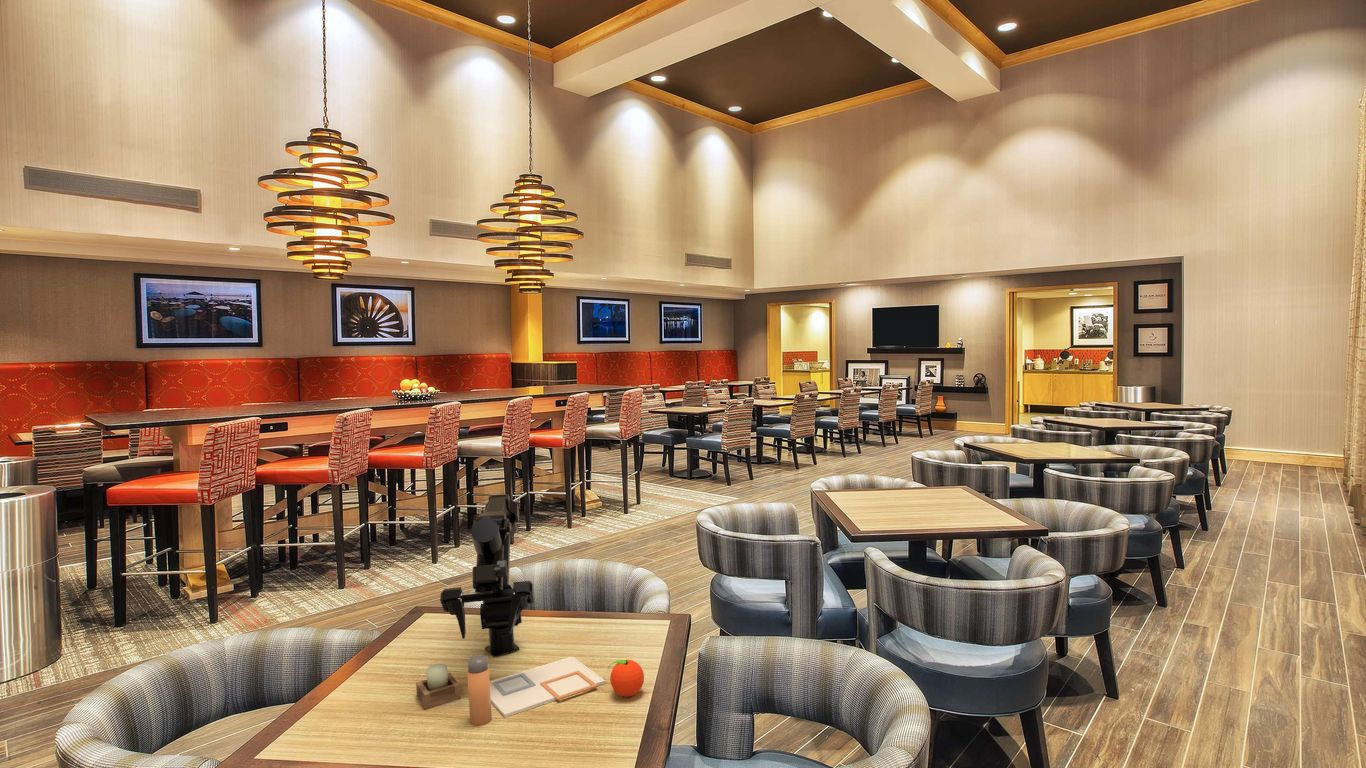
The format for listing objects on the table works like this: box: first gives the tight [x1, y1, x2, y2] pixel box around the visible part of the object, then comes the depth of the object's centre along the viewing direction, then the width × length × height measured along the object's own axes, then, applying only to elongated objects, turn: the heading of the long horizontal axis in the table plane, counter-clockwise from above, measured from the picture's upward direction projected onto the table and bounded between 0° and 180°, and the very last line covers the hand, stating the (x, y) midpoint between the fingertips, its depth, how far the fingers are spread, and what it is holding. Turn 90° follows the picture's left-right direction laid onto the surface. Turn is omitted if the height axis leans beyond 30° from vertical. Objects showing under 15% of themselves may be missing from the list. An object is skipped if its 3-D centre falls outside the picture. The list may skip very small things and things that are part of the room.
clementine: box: [607, 659, 645, 698], centre depth 139 cm, size 8×7×7 cm
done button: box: [426, 663, 448, 691], centre depth 142 cm, size 4×4×4 cm
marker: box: [466, 654, 493, 727], centre depth 131 cm, size 4×4×12 cm
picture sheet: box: [490, 656, 606, 718], centre depth 144 cm, size 18×22×1 cm
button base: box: [415, 672, 461, 710], centre depth 142 cm, size 7×7×3 cm
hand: (486, 635), depth 139 cm, fingers open, 9 cm apart
